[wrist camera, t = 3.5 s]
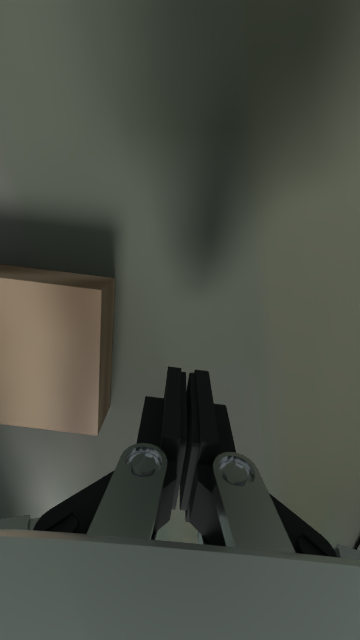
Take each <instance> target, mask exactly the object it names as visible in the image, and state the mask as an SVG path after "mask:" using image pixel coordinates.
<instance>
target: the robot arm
mask: <svg viewBox="0 0 360 640" xmlns="http://www.w3.org/2000/svg"><path fill="white" fill-rule="evenodd" d="M179 485H180V510H185V514H186V522H190V523H191V524H192V525H193V526H194V527H195V528H196V529H197V530H198V534H197V536H198V544H193V543H182V542H171V541H160V540H156V537H157V531H158V530H159V529H160V528H161V527H162V526H163V525H165V524H166V523H167V522H168V521H169V520H170V515H171V509H175V508H176V502H177V497H178V491H179ZM0 640H360V544H359V546H358V548H357V550H356V549H352V548H349V547H346V546H343V545H340V544H337V546H336V547H333V546H331V545H330V543H329V542H328V541H327V540H326V539H325V538H324V537H323V536H322V535H321V534H319V533H318V532H317V531H316V530H314V529H313V528H312V527H311V526H309V525H308V524H307V523H306V522H304V521H303V520H302V519H301V518H299V517H298V516H297V515H296V514H294V513H293V512H292V511H291V510H289V509H288V508H287V507H286V506H284V505H283V504H282V503H281V502H279V501H278V500H277V499H276V498H274V497H273V496H272V495H271V494H269V493H268V490H267V488H266V486H265V484H264V482H263V479H262V477H261V475H260V473H259V470H258V469H257V467H256V466H255V464H254V463H253V462H252V461H251V460H250V459H249V458H247V457H245V456H244V455H241V454H239V453H236V450H235V446H234V441H233V436H232V432H231V427H230V422H229V418H228V413H227V408H226V406H225V405H220V404H214V403H213V397H212V390H211V384H210V377H209V372H208V371H201V370H195V372H194V373H190V374H189V379H188V385H187V392H186V372H181V368H175V367H168V371H167V379H166V387H165V394H164V398H156V397H147V396H146V397H145V402H144V407H143V413H142V418H141V423H140V428H139V434H138V439H137V444H134V445H132V446H130V447H128V448H127V449H126V450H125V451H124V452H123V454H122V455H121V457H120V459H119V462H118V464H117V466H116V468H115V470H114V471H113V472H111V473H109V474H108V475H106V476H104V477H103V478H101V479H99V480H98V481H96V482H95V483H93V484H91V485H90V486H88V487H86V488H85V489H83V490H81V491H80V492H78V493H76V494H75V495H73V496H71V497H70V498H68V499H66V500H65V501H63V502H61V503H60V504H58V505H57V506H55V507H53V508H52V509H50V510H49V511H47V512H46V513H45V514H44V515H42V516H41V518H35V519H30V515H25V516H17V517H10V518H2V519H0Z"/></svg>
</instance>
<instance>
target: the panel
mask: <svg viewBox="0 0 360 640" xmlns="http://www.w3.org/2000/svg"><path fill="white" fill-rule="evenodd" d="M114 298H115V278H110V277H102V276H93V275H85V274H77V273H69V272H61V271H53V270H45V269H36V268H28V267H20V266H12V265H4V264H0V424H5V425H13V426H22V427H30V428H38V429H46V430H55V431H63V432H71V433H80V434H88V435H96V436H98V434H99V431H100V429H101V426H102V424H103V422H104V419H105V417H106V415H107V412H108V410H109V407H110V394H111V370H112V346H113V322H114Z"/></svg>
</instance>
